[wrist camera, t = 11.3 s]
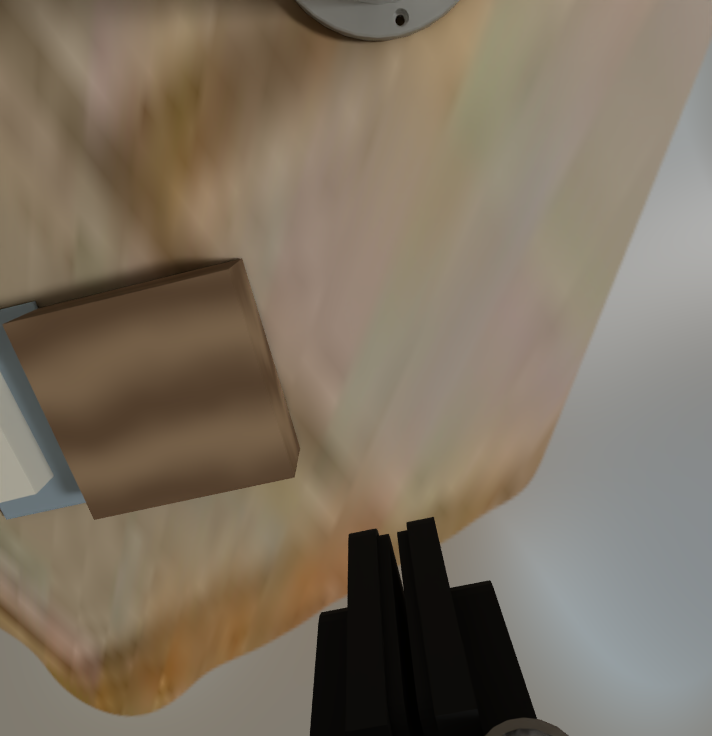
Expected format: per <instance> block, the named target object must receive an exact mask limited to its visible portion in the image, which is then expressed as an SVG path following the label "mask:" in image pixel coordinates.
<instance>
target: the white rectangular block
mask: <svg viewBox="0 0 712 736" xmlns="http://www.w3.org/2000/svg"><path fill="white" fill-rule="evenodd" d="M53 476H54V475H53V473H52V471H51V469H50V467H49V465H48V463H47V461H46V459H45V457H44V455H43V453H42V451H41V449H40V448H39V446H38V444H37V442H36V440H35V438H34V436H33V434H32V432H31V430H30V428H29V426H28V424H27V422H26V420H25V418H24V417H23V415H22V413H21V411H20V409H19V407H18V405H17V403H16V401H15V399H14V397H13V395H12V393H11V391H10V389H9V387H8V386H7V384H6V382H5V380H4V378H3V376H2V374H1V372H0V503H1V502H5V501H10V500H14V499H18V498H22V497H26V496H30V495H34V494H37V493H38V492H39V491H40V490H41V489H42V488H43V487H44V486H45V485H46V484H47V483H48V481H49V480H50V479H51V478H52V477H53Z"/></svg>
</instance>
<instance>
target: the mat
mask: <svg viewBox="0 0 712 736" xmlns="http://www.w3.org/2000/svg"><path fill="white" fill-rule="evenodd" d="M35 309H38V306H37V304H36V302H35V301H33V302H29V303H25V304H21V305H17V306H13V307H9V308H4V309H0V372H1V374H2V376H3V378H4V380H5V382H6V384H7V386H8V387H9V389H10V391H11V393H12V395H13V397H14V399H15V401H16V403H17V405H18V407H19V409H20V411H21V413H22V415H23V417H24V418H25V420H26V422H27V424H28V426H29V428H30V430H31V432H32V434H33V436H34V438H35V440H36V442H37V444H38V446H39V448H40V449H41V451H42V453H43V455H44V457H45V459H46V461H47V463H48V465H49V467H50V469H51V471H52V473H53V475H54V476H53V477H52V478H51V479H50V480H49V481H48V483H47V484H46V485H45V486H44V487H43V488H42V489H41V490H40V491H39V492H38V493H37V494H34V495H30V496H26V497H22V498H18V499H14V500H10V501H5V502H1V503H0V509H1V511H2V512H3V514H4V516H5V518H6V520H7V519H11V518H16V517H21V516H25V515H30V514H35V513H39V512H44V511H49V510H53V509H58V508H63V507H67V506H72V505H77V504H81V503H86V501H85V499H84V497H83V495H82V493H81V491H80V489H79V487H78V484H77V482H76V480H75V478H74V476H73V474H72V472H71V470H70V467H69V465H68V463H67V461H66V459H65V457H64V455H63V453H62V450H61V448H60V446H59V444H58V442H57V440H56V438H55V436H54V434H53V431H52V429H51V427H50V425H49V423H48V421H47V419H46V417H45V414H44V412H43V410H42V408H41V406H40V404H39V402H38V400H37V397H36V395H35V393H34V391H33V389H32V387H31V385H30V383H29V380H28V378H27V376H26V374H25V372H24V370H23V368H22V366H21V364H20V361H19V359H18V357H17V355H16V353H15V351H14V349H13V347H12V344H11V342H10V340H9V338H8V336H7V334H6V332H5V330H4V327H3V325H2V324H4V323H6V322H9V321H11V320H13V319H15V318H18V317H20V316H22V315H24V314H26V313H29V312H31V311H33V310H35Z"/></svg>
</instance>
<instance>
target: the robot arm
mask: <svg viewBox="0 0 712 736" xmlns="http://www.w3.org/2000/svg"><path fill="white" fill-rule="evenodd" d="M295 1H296V2H297V3H298V5H299V6H300V7H301V8H302V9H303V10H304V11H305V12H306V13H307V14H308V15H310V16H311V17H312V18H314V19H315V20H316V21H318V22H319V23H321V24H322V25H323V26H325V27H327V28H329V29H331V30H333V31H335V32H338V33H340V34H342V35H344V36H348V37H352V38H357V39H361V40H365V41H387V40H392V39H397V38H401V37H406V36H409V35H411V34H414V33H416V32H418V31H420V30H423V29H425V28H427V27H429V26H430V25H432V24H433V23H435V22H436V21H437V20H439V19H440V18H442V17H443V16H444V15H446V14H447V13H448V12H449V11H450V10H451V9H452V8H453V7H454V6H455V5H456V4H457V3H458V2H459V0H295ZM397 17H402V18H403V19H404V24H403V25H402V26H398V25H397V24H396V22H395V19H396V18H397ZM406 524H407V530H406V531H401V532H397V537H398V545H399V554H400V562H401V570H402V579H403V586H402V582H401V578H400V574H399V570H398V566H397V563H396V559H395V555H394V551H393V547H392V543H391V539H390V536H389V534H385V535H380V536H379V533H378V530H377V529H371V530H366V531H361V532H356V533H351V534H349V538H348V607H347V608H342V609H337V610H332V611H326V612H321V614H320V616H319V623H318V636H317V648H316V649H317V650H316V661H315V674H314V687H313V700H312V713H311V727H310V736H568V735H567V734H566V733H564V732H563V731H562V730H560V729H559V728H558V727H557V726H554V725H552V724H550V723H547V722H545V721H542V720H539V719H537V717H536V714H535V711H534V708H533V706H532V702H531V699H530V696H529V693H528V690H527V688H526V684H525V681H524V678H523V675H522V672H521V669H520V666H519V663H518V660H517V657H516V654H515V651H514V648H513V645H512V642H511V640H510V636H509V633H508V630H507V627H506V624H505V621H504V618H503V615H502V612H501V609H500V606H499V603H498V600H497V597H496V594H495V591H494V588H493V586H492V583H491V581H484V582H479V583H474V584H468V585H463V586H458V587H453V588H450V586H449V582H448V577H447V573H446V569H445V565H444V560H443V556H442V551H441V547H440V542H439V538H438V534H437V529H436V525H435V521H434V517H431V518H426V519H421V520H416V521H411V522H407V523H406ZM403 587H404V590H403Z"/></svg>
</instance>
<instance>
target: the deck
mask: <svg viewBox="0 0 712 736" xmlns="http://www.w3.org/2000/svg"><path fill="white" fill-rule="evenodd" d="M2 325H3V327H4V330H5V332H6V334H7V336H8V338H9V340H10V342H11V344H12V347H13V349H14V351H15V353H16V355H17V357H18V359H19V361H20V364H21V366H22V368H23V370H24V372H25V374H26V376H27V378H28V380H29V383H30V385H31V387H32V389H33V391H34V393H35V395H36V397H37V400H38V402H39V404H40V406H41V408H42V410H43V412H44V414H45V417H46V419H47V421H48V423H49V425H50V427H51V429H52V431H53V434H54V436H55V438H56V440H57V442H58V444H59V446H60V448H61V450H62V453H63V455H64V457H65V459H66V461H67V463H68V465H69V467H70V470H71V472H72V474H73V476H74V478H75V480H76V482H77V484H78V487H79V489H80V491H81V493H82V495H83V497H84V499H85V501H86V503H87V506H88V508H89V510H90V512H91V514H92V516H93V518H94V520H95V519H100V518H105V517H109V516H114V515H119V514H124V513H128V512H133V511H138V510H142V509H147V508H152V507H157V506H161V505H166V504H171V503H176V502H180V501H185V500H190V499H194V498H199V497H204V496H209V495H213V494H218V493H223V492H227V491H232V490H237V489H242V488H246V487H251V486H256V485H261V484H265V483H270V482H275V481H279V480H284V479H289V478H294V477H295V472H296V467H297V461H298V456H299V451H300V447H299V443H298V440H297V437H296V433H295V430H294V427H293V424H292V420H291V417H290V414H289V411H288V407H287V404H286V401H285V398H284V394H283V391H282V388H281V384H280V381H279V378H278V375H277V371H276V368H275V365H274V362H273V358H272V355H271V352H270V349H269V345H268V342H267V339H266V335H265V332H264V329H263V326H262V322H261V319H260V316H259V313H258V309H257V306H256V303H255V299H254V296H253V293H252V290H251V286H250V283H249V280H248V277H247V273H246V270H245V267H244V264H243V260H242V259H238V260H234V261H229V262H225V263H221V264H217V265H213V266H209V267H205V268H201V269H197V270H193V271H189V272H184V273H180V274H176V275H172V276H168V277H164V278H160V279H156V280H152V281H148V282H144V283H139V284H135V285H131V286H127V287H123V288H119V289H115V290H111V291H107V292H103V293H99V294H94V295H90V296H86V297H82V298H78V299H74V300H70V301H66V302H62V303H58V304H54V305H50V306H45V307H41V308H38V309H35V310H33V311H31V312H29V313H26V314H24V315H22V316H20V317H18V318H15V319H13V320H11V321H9V322H6V323H4V324H2Z"/></svg>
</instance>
